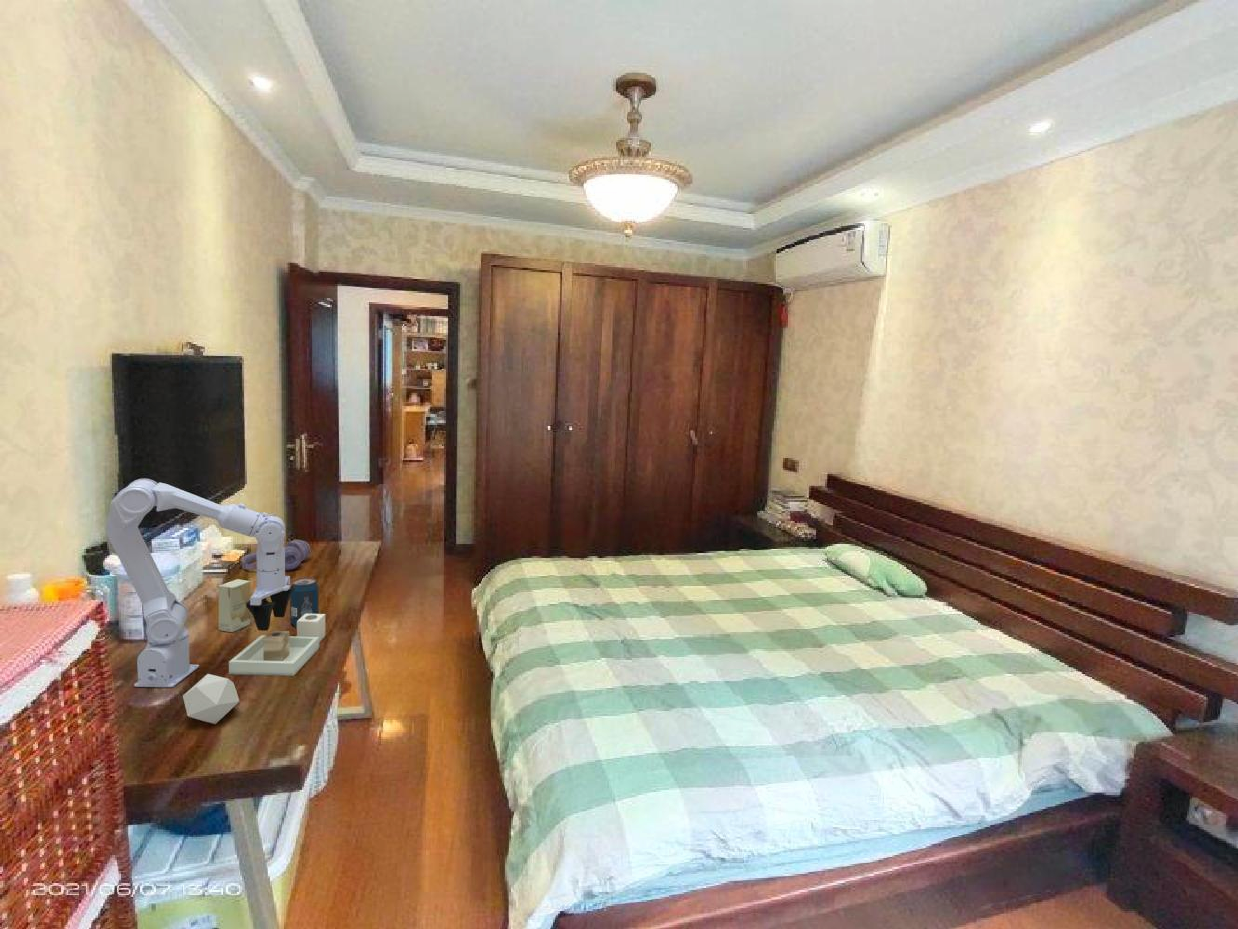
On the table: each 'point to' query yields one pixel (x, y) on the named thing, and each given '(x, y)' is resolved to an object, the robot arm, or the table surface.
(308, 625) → the oversize block
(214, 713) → the die
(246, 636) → the table surface
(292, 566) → the headphones
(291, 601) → the soda can
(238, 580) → the skincare box
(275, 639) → the birch block
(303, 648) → the tray
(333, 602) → the table surface
